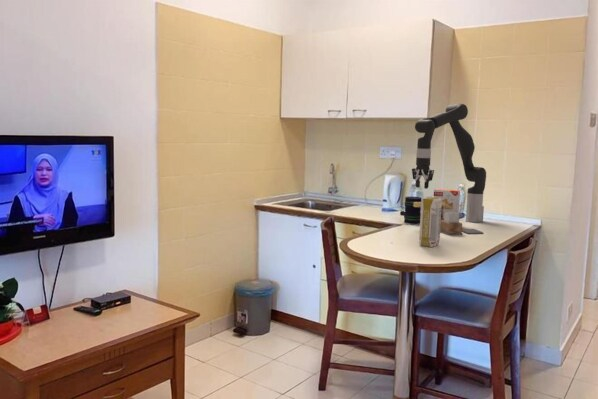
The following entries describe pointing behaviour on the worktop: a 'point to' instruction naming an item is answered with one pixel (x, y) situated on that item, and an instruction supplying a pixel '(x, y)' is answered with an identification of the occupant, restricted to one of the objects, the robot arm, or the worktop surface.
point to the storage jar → (412, 210)
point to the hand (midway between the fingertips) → (421, 187)
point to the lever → (418, 204)
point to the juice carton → (430, 221)
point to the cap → (451, 217)
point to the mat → (471, 231)
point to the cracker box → (448, 199)
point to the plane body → (450, 228)
